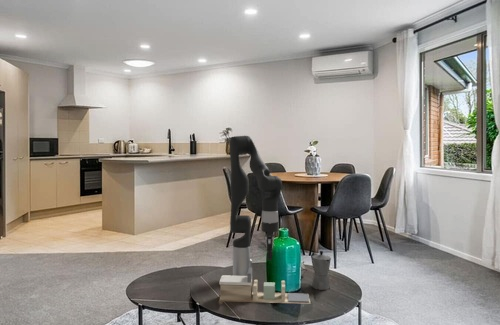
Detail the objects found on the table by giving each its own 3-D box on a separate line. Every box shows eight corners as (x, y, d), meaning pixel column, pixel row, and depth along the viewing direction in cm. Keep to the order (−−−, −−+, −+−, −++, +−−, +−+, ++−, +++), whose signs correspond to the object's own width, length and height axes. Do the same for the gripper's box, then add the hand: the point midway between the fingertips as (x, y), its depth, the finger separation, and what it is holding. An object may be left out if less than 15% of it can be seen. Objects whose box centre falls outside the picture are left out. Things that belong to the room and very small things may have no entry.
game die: (301, 282, 214) (312, 267, 215) (298, 281, 206) (309, 265, 207) (288, 271, 218) (299, 257, 219) (284, 270, 210) (295, 255, 211)
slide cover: (222, 277, 184) (222, 266, 184) (252, 278, 183) (252, 267, 183) (219, 284, 175) (219, 272, 175) (250, 285, 174) (251, 273, 174)
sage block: (263, 295, 181) (263, 282, 181) (274, 295, 181) (274, 282, 181) (263, 299, 176) (263, 285, 176) (274, 299, 176) (274, 286, 176)
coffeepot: (336, 290, 192) (337, 253, 192) (320, 292, 189) (320, 255, 188) (319, 280, 207) (319, 246, 206) (303, 282, 203) (303, 247, 202)
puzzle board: (222, 294, 186) (222, 277, 186) (308, 296, 183) (308, 279, 183) (218, 304, 174) (218, 286, 174) (310, 307, 171) (310, 289, 171)
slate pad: (287, 294, 183) (287, 293, 182) (307, 294, 182) (307, 293, 182) (288, 301, 174) (288, 300, 174) (309, 302, 173) (309, 301, 173)
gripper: (262, 217, 185) (261, 253, 185) (260, 223, 170) (260, 262, 171) (278, 217, 184) (277, 254, 185) (278, 223, 170) (277, 263, 171)
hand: (269, 258), depth 178 cm, fingers open, 4 cm apart
